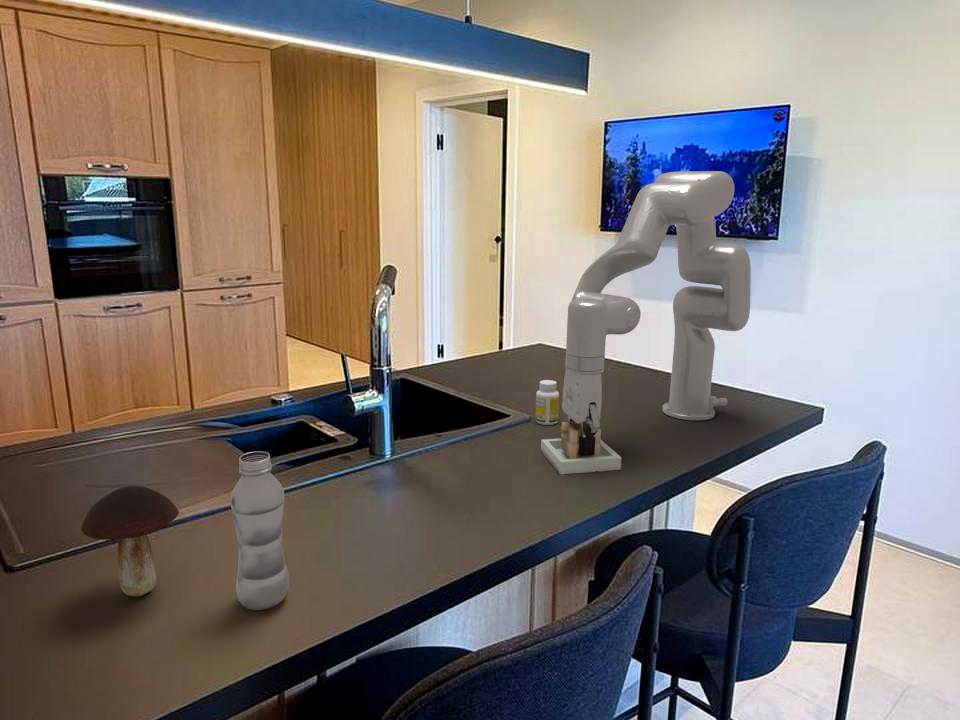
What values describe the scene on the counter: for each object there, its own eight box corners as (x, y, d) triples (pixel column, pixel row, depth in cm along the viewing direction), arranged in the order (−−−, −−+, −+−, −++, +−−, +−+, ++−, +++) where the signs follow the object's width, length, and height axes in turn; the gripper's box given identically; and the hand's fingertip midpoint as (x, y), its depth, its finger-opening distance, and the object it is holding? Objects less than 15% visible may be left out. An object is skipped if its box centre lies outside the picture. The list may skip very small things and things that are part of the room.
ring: (556, 448, 136) (557, 422, 135) (592, 445, 138) (594, 419, 137) (566, 459, 131) (567, 432, 129) (604, 456, 133) (605, 429, 131)
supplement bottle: (557, 418, 160) (559, 379, 158) (558, 426, 155) (560, 385, 153) (535, 417, 161) (536, 378, 158) (534, 425, 155) (536, 384, 153)
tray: (596, 447, 142) (596, 436, 142) (620, 469, 130) (621, 457, 130) (540, 450, 139) (541, 439, 139) (560, 474, 128) (561, 462, 127)
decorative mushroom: (137, 565, 94) (126, 466, 90) (203, 579, 91) (193, 477, 87) (71, 609, 84) (55, 500, 80) (142, 626, 81) (128, 513, 77)
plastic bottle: (225, 610, 84) (213, 462, 80) (260, 582, 90) (251, 444, 86) (267, 622, 82) (257, 470, 77) (300, 593, 88) (293, 451, 83)
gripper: (552, 353, 137) (548, 435, 142) (582, 374, 121) (578, 467, 125) (586, 352, 139) (582, 433, 143) (621, 372, 123) (615, 464, 127)
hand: (580, 448), depth 134 cm, fingers closed on ring, 5 cm apart
